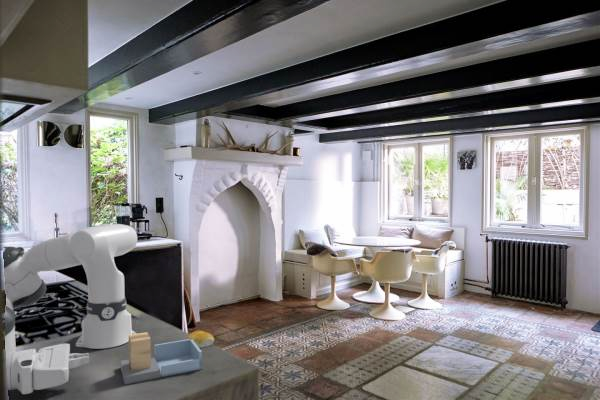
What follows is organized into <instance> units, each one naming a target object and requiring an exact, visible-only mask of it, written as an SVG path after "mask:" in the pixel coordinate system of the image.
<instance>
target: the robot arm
mask: <svg viewBox="0 0 600 400" xmlns="http://www.w3.org/2000/svg"><path fill="white" fill-rule="evenodd" d="M137 244H138V234H137V232H136V230H135V229H134V228H133V227H132V226H130V225H127V224H121V223H114V224H113V223H112V224H105V225H96V226H95V225H94V226H88V227H85V228H83V229H80V230H78V231H76V232H73V233H69V234H65V235H61V236H57V237H54V238H49V239H46V240H44V241H41V242H39V243H38V244H36V245H33V246H32V247H30V248H29V250H27V251H25V248H24V247H22V246H19V247H18V246H17V247H15V246H2V247H3V259H4V277H5V294H6V305H5V350H6V367H7V377H8V390H7V391H13V390H18V391H19V392H20V393H21V395H29V394H31V393H33V392H34V390H35V391H39V390H46V389H50V388H54V387H60V386H62V385H64V384H65V383H67V382H68V381H69V376H70V374H69V373H70V369H71V370H72V369H75V368H78V367H80V366H82V365H87V364H90V353H89V352H86V353H77V352H75V353H74V352H73V353H71V344H70V343H58V344H54V345H49V346H45V347H42V348H39V350H38V351H37V349H36V348H30V349H21V350H17V345H16V342H17V341H16V329H15V328H16V327H15V326H16V325H15V324H16V313H15V311H14V308H17V307H19V308H23V307H24V308H25V307H30V306H32V305H34V304H35V303H37V302H39V301H40V300H42V298H43V297H44V296H45V294H46V292H47V290H48V288H47V286H46V283H45V281H44V279H42V278H41V276H40V275H39V273H40V272H54V271H60V270H64V269H68V268H72V267H76V266H81V265H82V267H83V270H84V272H85V275H86V281H87V292H88V293H87V297H88V299H87V301H86V313H87V314H86V316H85V317H84V318H83V319H82V320H81V323H80V329H82V330H81V332H80V333H81V335H80V336H79V337H78V339H77V341H75V348H76V347H77V348H86V349H96V350H97V349H98V350H100V349H110V348H116V347H118V346H121V345H124V344H126V343H129V335H132V334H138V333H137V332H136V331H134V330H133V329H132V314H131V312H129V311H128V310H127V299H126V296H125V275H124V273H123V272H122V271H120V270H119V269H118V267H117V266H116V263H115V257H119V256H123V255H125V254H127V253H129V252H131V251H133V250H134V249H135V248H136V246H137Z"/></svg>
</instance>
